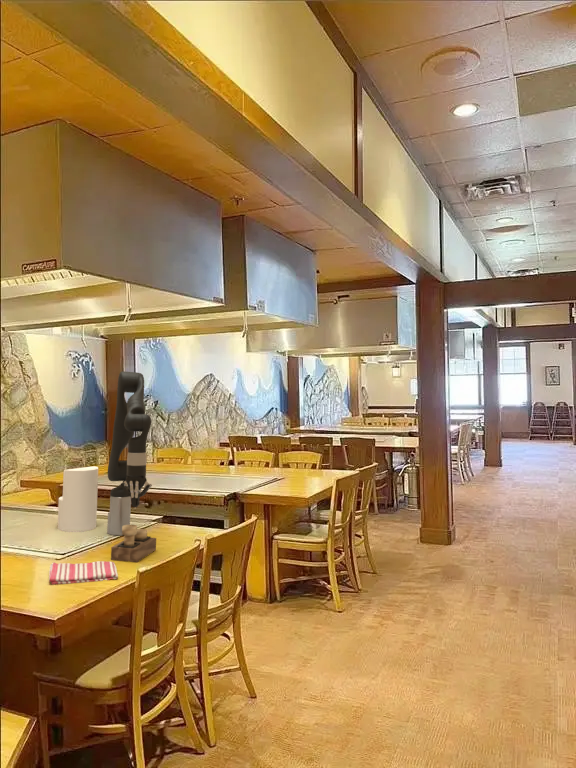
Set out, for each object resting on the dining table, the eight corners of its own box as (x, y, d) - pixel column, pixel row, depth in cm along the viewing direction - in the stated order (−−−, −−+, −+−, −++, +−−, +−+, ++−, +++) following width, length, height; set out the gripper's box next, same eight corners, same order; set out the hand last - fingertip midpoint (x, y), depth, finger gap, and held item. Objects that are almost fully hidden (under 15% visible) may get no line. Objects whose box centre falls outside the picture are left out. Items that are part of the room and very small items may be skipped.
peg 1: (119, 549, 236) (119, 527, 236) (125, 545, 242) (126, 524, 242) (132, 550, 235) (133, 528, 235) (138, 546, 241) (139, 525, 241)
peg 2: (130, 552, 246) (130, 531, 246) (136, 548, 252) (136, 528, 252) (142, 553, 245) (143, 532, 245) (148, 550, 251) (149, 529, 251)
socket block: (110, 559, 236) (111, 545, 236) (131, 547, 253) (131, 534, 253) (137, 562, 234) (137, 548, 234) (155, 549, 251) (156, 536, 251)
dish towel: (49, 571, 221) (49, 561, 221) (115, 566, 229) (115, 557, 229) (48, 586, 205) (48, 576, 205) (119, 581, 213) (119, 571, 213)
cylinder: (104, 526, 287) (106, 468, 286) (73, 533, 272) (75, 472, 272) (80, 521, 296) (82, 464, 296) (49, 527, 281) (51, 467, 281)
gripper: (117, 463, 239) (115, 507, 239) (148, 465, 237) (147, 509, 236) (125, 461, 246) (124, 504, 246) (155, 463, 244) (154, 506, 244)
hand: (135, 506), depth 241 cm, fingers closed
